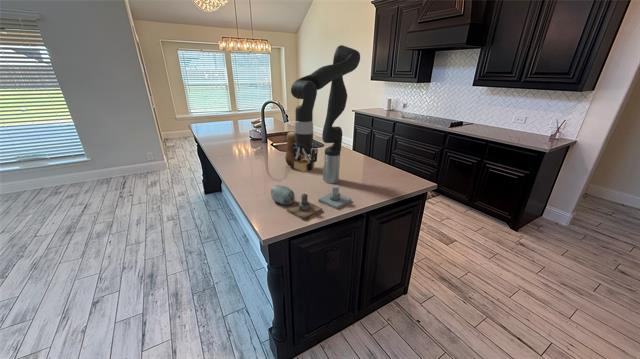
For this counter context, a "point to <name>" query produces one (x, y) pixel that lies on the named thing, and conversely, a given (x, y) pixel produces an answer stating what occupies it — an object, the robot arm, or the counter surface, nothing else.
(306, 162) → the square wooden frame
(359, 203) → the counter surface
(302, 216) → the stand
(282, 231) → the counter surface
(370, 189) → the counter surface
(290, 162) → the butternut squash
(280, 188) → the teal-grey streaked oval part
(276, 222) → the counter surface
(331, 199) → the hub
